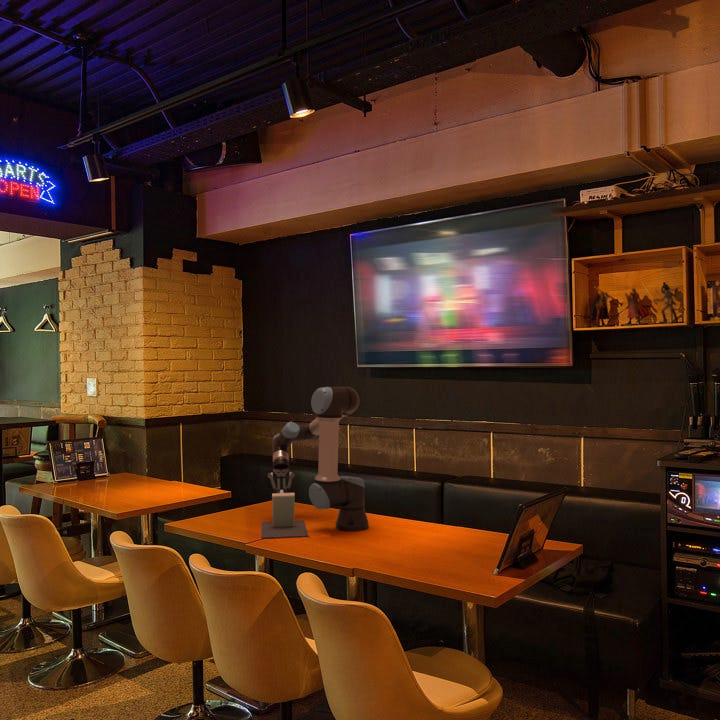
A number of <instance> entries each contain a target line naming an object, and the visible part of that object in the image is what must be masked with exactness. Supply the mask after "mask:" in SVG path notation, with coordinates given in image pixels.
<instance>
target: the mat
mask: <svg viewBox="0 0 720 720" xmlns="http://www.w3.org/2000/svg"><path fill="white" fill-rule="evenodd" d="M260 527H261V529H260V530H261V531H260V533H261V534H260V535H261V536H260V537H261V538H260V540H275V539H276V540H277V539H297V538H299V539H300V538H309V532H308V530H307V525H306V521H305V520H304V519H300V520H297V519H296V520H295V526H286V527H273V526H272V521H261V525H260Z"/></svg>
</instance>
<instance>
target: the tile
mask: <svg viewBox="0 0 720 720" xmlns="http://www.w3.org/2000/svg"><path fill="white" fill-rule="evenodd" d="M271 495H272V496H271V504H272V505H271V506H272V507H271V509H272V511H271V513H272V514H271V515H272V517H271V518H272V526H273V527H286V526H295V519H296V518H295V517H296V515H295V513H296V512H295V511H296V510H295V509H296V508H295V506H296V504H295V501H296V500H295V495H296V494H295V492H286V493H277V492H274V493H271Z"/></svg>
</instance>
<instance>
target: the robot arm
mask: <svg viewBox="0 0 720 720" xmlns="http://www.w3.org/2000/svg"><path fill="white" fill-rule="evenodd" d="M310 402H311V403H310V404H311V405H310V406H311V411H313V413H315V414H316V415H315V416H316V417H315V419H314V420H312V421H311V422H310V423H308V424H306V425H305V424H304V425H299V424H298V423H296V422H293V421H289V422H287V423H286V424H285V425H284V426H283V427H282V429H281V431H280V433H277V434H275V435H274V436H273V438H272V470H271V472H267V478H268V479H269V480H270V485H271V487H272V490H273V492H274V493H290V489H291V486H292V481H293V479H294V478H295V472H294V471H291V470H290V463H289V462H290V461H289V458H290V457H289V449H290V447H291V445H292V444H293V442H306V441H316V440H318V466H317V467H318V468H317V469H318V473H317V475H316V476H314V483H311V484H310V485H309V488H308V496H309V499H310V502H311V504H312V505H313V507H314V508H316V509H317V510H329V509H333V508H339V509H338V513H337V518H336V521H335V529H337V530H340V531H346V532H347V531H348V532H355V531H356V532H357V531H364V530H367V529H369V525H370V524H369V520H368V519H369V518H368V517H367V514H366V510H365V508H366V507H365V488H366V487H365V480H364V479H363V478H361V477H358V476H349V475H340V476H339V474H338V471H339V470H338V465H339V461H338V460H339V434H340V433H339V430H340V428H339V426H340V424H339V423H340V420H341V421H342V419H343V418H344V417H348V416H350V415H352V414H353V413H354V412H355V411H357V409H358V407H359V405H360V396H359V394H358V392H357V390H355V389H354V388H352V387H349V386H325V387H318V388H317V389H316V390H315V391H314V392H313V394H312V396H311V400H310ZM288 476H289V478H288V483H287V482H286V479H287V477H288ZM274 477H275V479H276V480H277V481H276V483H277V484H276V483H275V479H274ZM281 480H282V489H281ZM286 483H287V484H286ZM276 485H277V486H276ZM286 485H287V486H286Z"/></svg>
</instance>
